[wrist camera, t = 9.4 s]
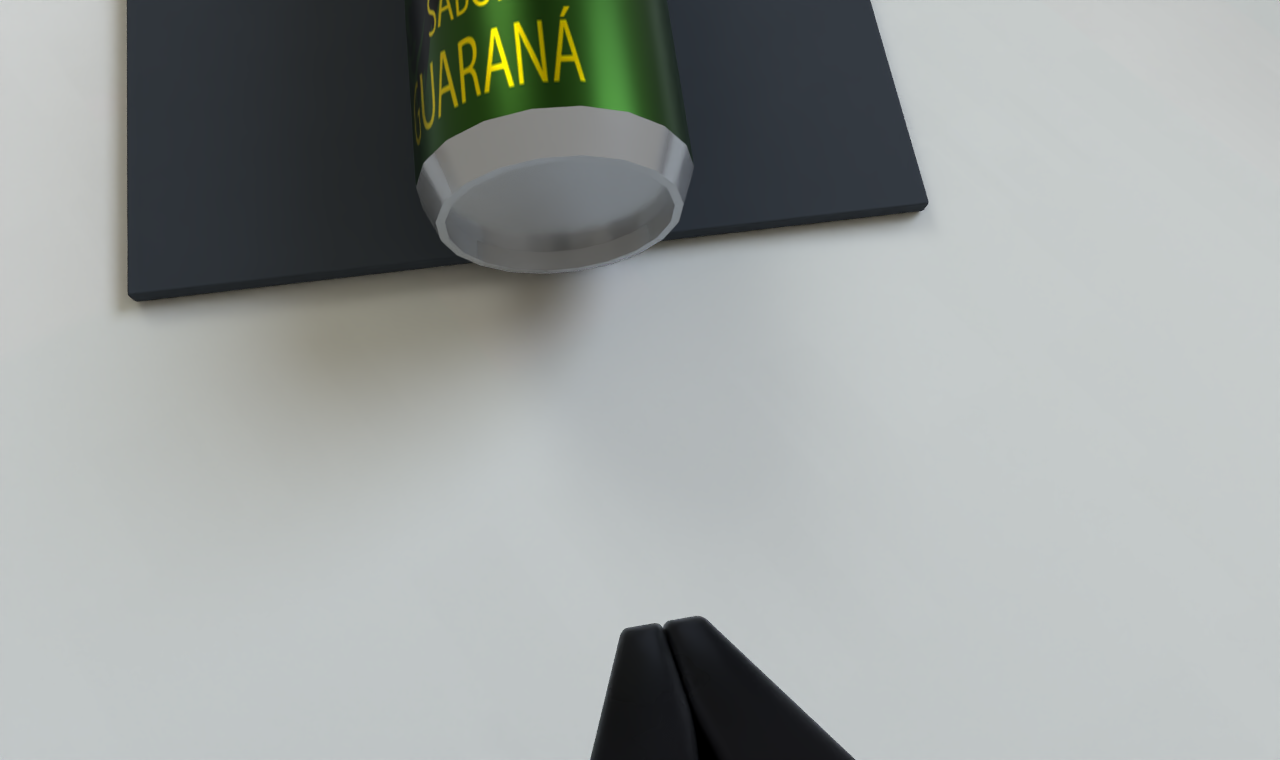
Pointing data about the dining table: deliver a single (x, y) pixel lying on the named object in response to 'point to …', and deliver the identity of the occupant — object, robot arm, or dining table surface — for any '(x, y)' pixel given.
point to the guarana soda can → (547, 129)
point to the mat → (383, 139)
